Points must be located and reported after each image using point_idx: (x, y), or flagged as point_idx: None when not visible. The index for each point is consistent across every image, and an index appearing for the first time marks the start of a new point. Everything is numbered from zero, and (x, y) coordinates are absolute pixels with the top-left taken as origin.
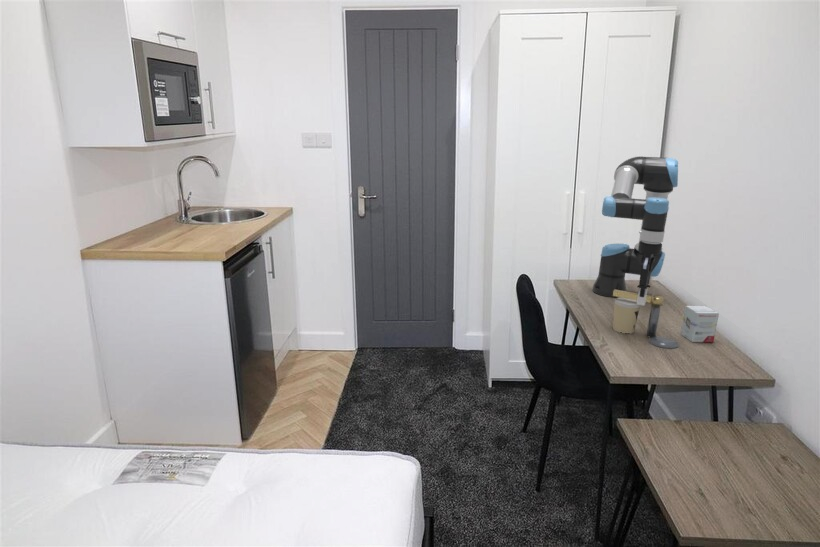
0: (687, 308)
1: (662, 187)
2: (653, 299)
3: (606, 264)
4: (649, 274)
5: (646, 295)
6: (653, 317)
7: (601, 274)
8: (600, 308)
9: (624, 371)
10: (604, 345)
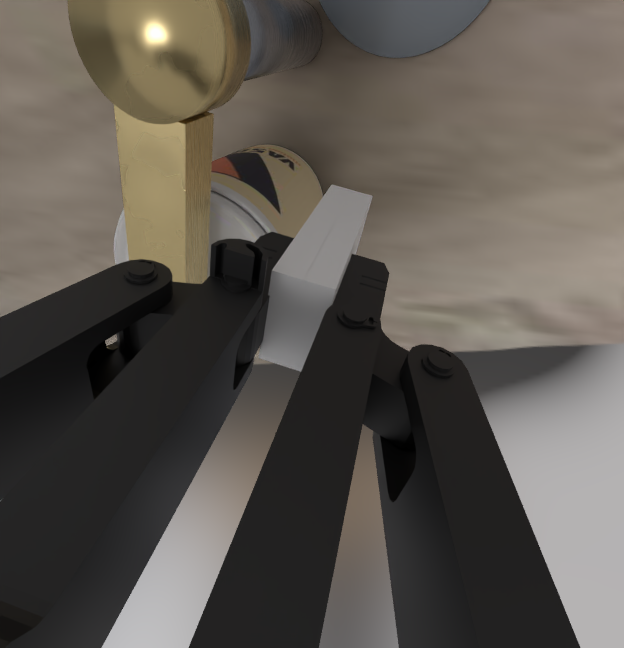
0: None
1: None
2: (215, 92)
3: None
4: (145, 462)
5: (313, 225)
6: (279, 44)
7: None
8: (49, 273)
9: None
10: (532, 313)
